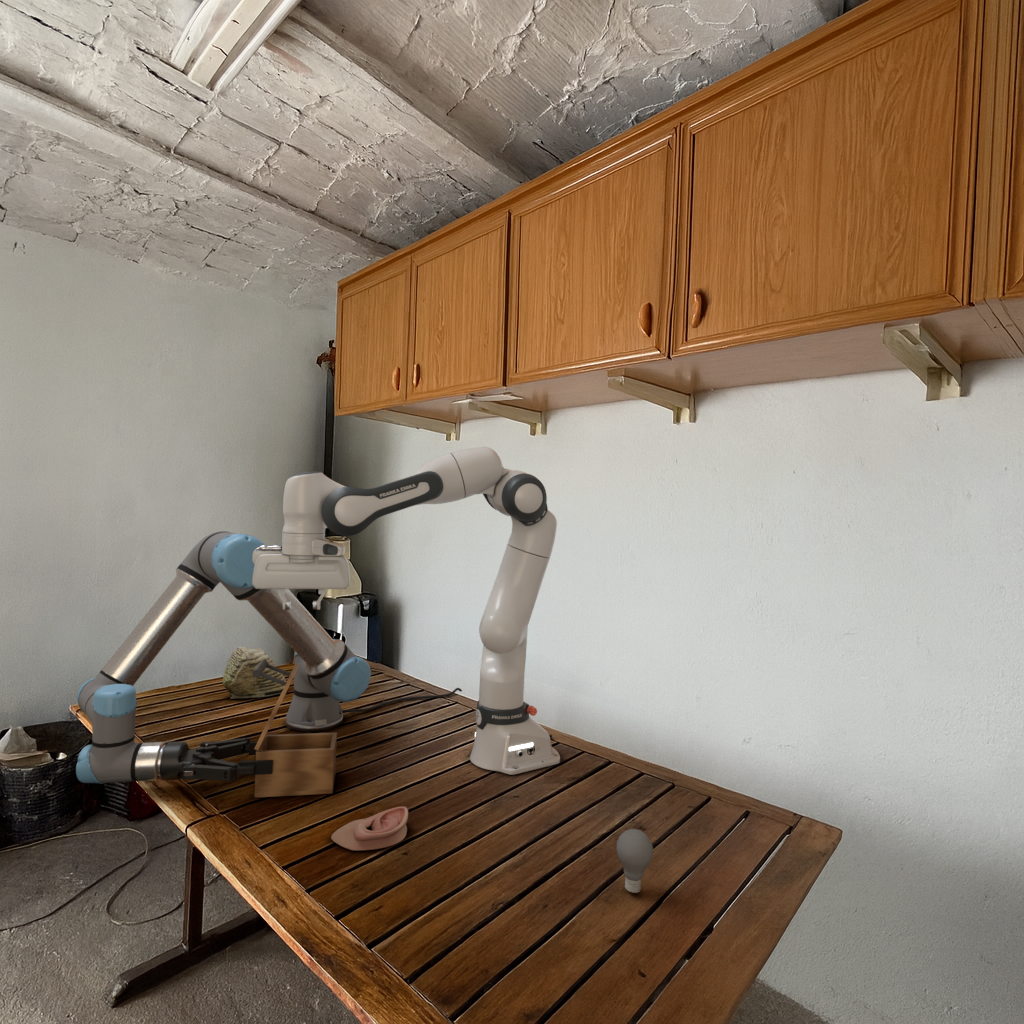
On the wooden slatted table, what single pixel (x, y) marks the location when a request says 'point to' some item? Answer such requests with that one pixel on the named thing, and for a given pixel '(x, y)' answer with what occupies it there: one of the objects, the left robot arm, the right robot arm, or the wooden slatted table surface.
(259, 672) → the lid
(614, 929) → the wooden slatted table surface
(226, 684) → the fossil
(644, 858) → the light bulb
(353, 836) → the anatomical model
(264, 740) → the chest
